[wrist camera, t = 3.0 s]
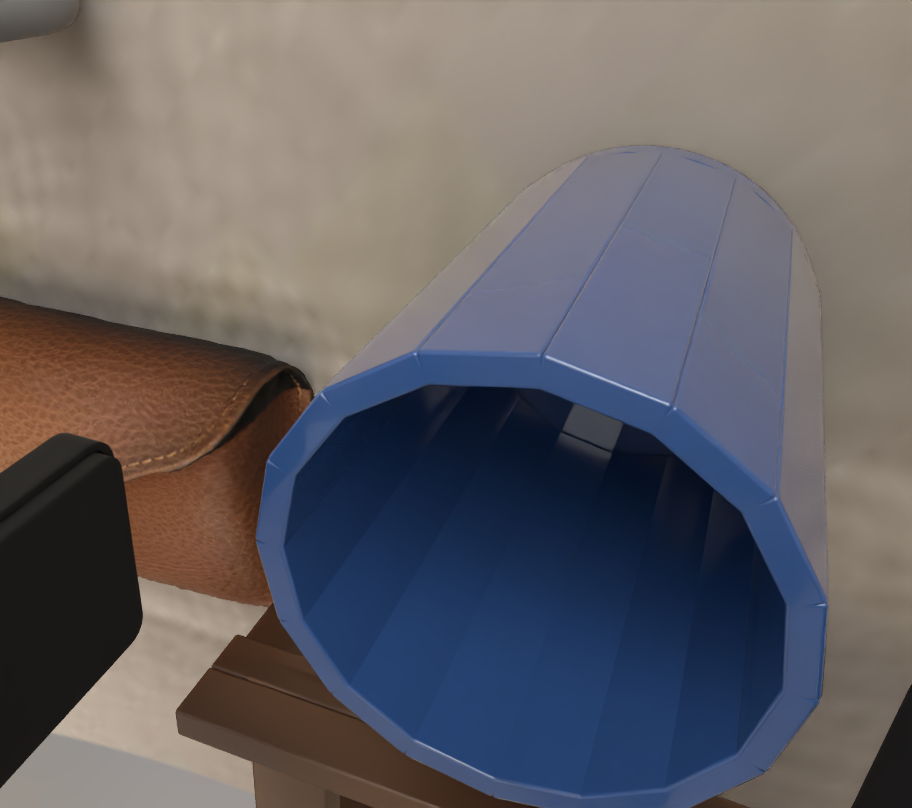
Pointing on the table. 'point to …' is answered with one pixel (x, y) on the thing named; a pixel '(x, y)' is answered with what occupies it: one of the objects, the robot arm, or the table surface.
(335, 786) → the rack
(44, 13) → the newton's cradle
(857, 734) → the table surface
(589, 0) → the table surface
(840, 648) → the table surface
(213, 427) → the sunglasses case
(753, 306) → the cup
